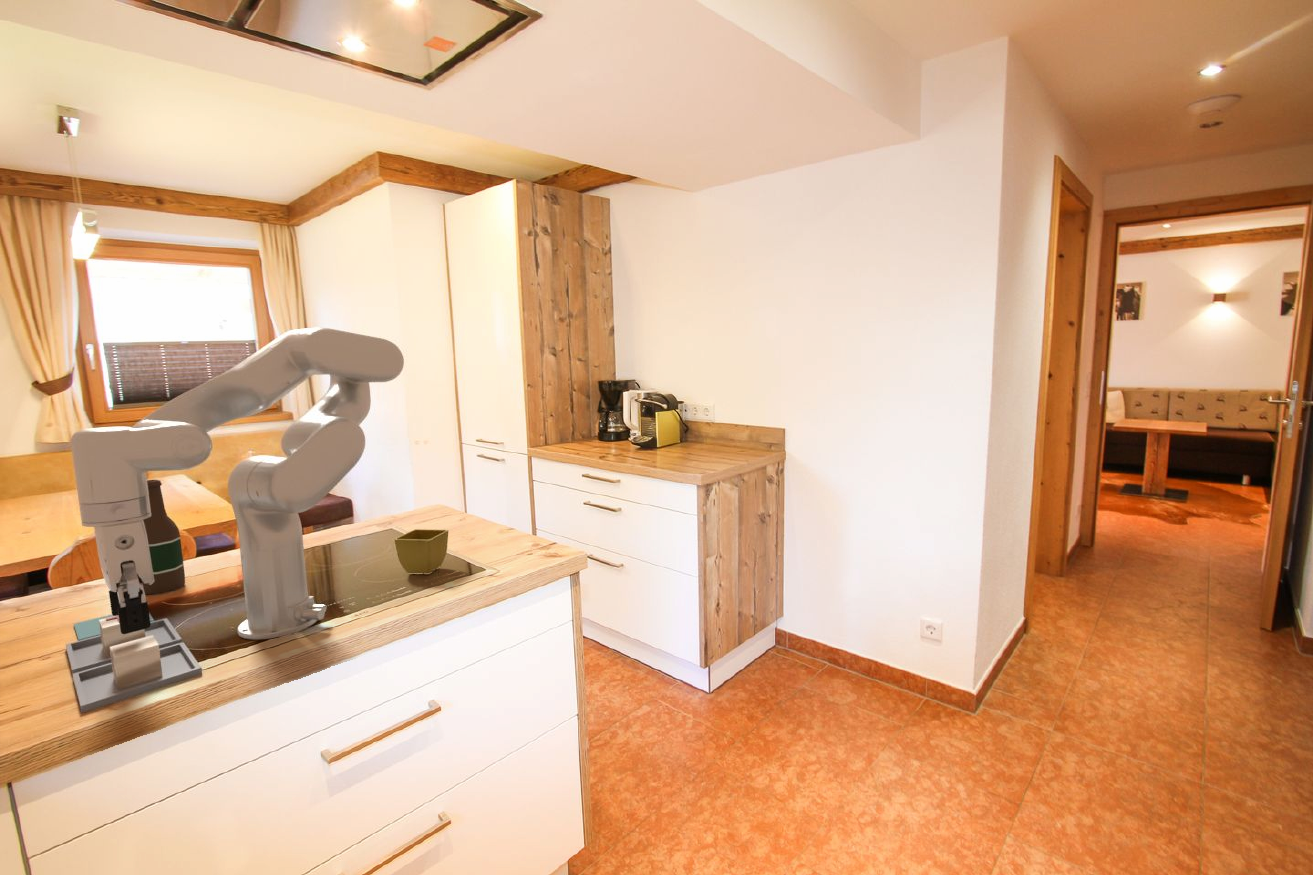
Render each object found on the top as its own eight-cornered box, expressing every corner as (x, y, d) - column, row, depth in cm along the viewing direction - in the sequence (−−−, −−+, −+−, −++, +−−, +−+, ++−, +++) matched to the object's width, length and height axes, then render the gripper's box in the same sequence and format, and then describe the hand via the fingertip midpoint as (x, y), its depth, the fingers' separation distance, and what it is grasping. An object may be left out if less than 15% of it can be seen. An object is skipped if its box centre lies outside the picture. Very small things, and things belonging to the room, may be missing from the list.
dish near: (202, 676, 88) (201, 667, 88) (82, 715, 79) (80, 706, 78) (184, 649, 97) (183, 641, 97) (73, 682, 87) (72, 673, 87)
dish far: (182, 646, 98) (181, 638, 98) (73, 678, 88) (72, 669, 88) (167, 625, 107) (166, 617, 107) (66, 651, 97) (65, 644, 97)
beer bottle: (158, 596, 121) (144, 484, 118) (129, 594, 123) (115, 483, 120) (195, 583, 129) (182, 477, 126) (167, 581, 130) (154, 476, 127)
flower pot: (417, 564, 138) (414, 528, 137) (451, 565, 137) (449, 529, 136) (396, 577, 130) (393, 539, 129) (432, 579, 129) (429, 540, 128)
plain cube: (162, 675, 88) (158, 644, 87) (118, 689, 84) (113, 657, 84) (156, 665, 91) (152, 635, 91) (113, 677, 88) (109, 646, 87)
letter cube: (146, 646, 98) (142, 616, 97) (106, 657, 94) (102, 627, 94) (141, 637, 101) (138, 609, 101) (102, 648, 97) (98, 618, 97)
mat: (154, 624, 107) (154, 620, 107) (79, 643, 100) (78, 639, 100) (145, 610, 114) (145, 606, 114) (74, 627, 106) (73, 623, 106)
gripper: (160, 514, 82) (174, 628, 84) (140, 498, 93) (153, 599, 95) (86, 525, 76) (103, 648, 78) (75, 507, 88) (90, 614, 90)
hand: (131, 621), depth 87 cm, fingers open, 9 cm apart
